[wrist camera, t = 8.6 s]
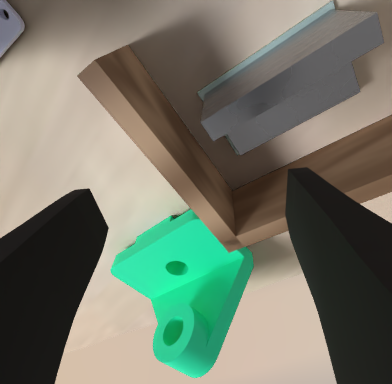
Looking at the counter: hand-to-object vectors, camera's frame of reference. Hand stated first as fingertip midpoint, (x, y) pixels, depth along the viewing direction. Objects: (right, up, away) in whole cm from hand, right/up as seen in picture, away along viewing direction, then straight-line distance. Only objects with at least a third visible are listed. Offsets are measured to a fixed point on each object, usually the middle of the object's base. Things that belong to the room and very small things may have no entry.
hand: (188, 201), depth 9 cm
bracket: (+6, +7, +7) cm, 11 cm away
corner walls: (+5, +7, +7) cm, 11 cm away
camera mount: (-1, -5, +17) cm, 18 cm away
